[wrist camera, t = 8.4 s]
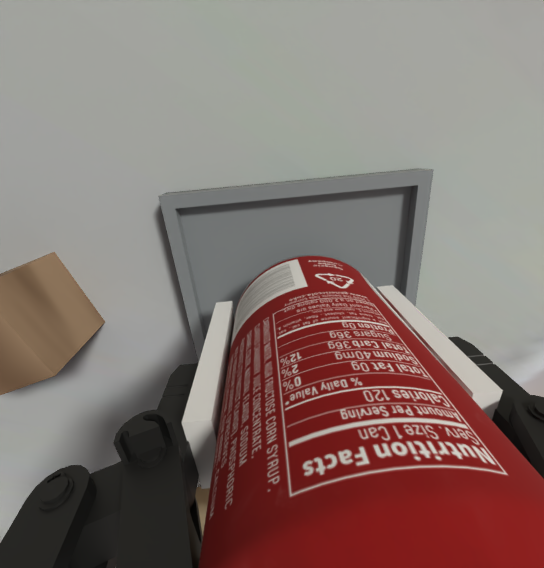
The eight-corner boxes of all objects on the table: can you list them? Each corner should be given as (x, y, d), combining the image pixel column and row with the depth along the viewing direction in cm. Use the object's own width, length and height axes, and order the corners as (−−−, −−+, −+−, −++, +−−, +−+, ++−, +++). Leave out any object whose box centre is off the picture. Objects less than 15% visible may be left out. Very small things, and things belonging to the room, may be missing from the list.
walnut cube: (39, 345, 17) (-31, 405, 13) (-17, 280, 15) (-120, 326, 11) (105, 321, 16) (55, 375, 12) (55, 251, 15) (-24, 288, 11)
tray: (210, 387, 19) (207, 401, 18) (166, 192, 14) (158, 196, 13) (396, 368, 19) (405, 381, 18) (419, 168, 14) (433, 169, 13)
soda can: (208, 293, 13) (-9, 888, 3) (339, 221, 12) (962, 722, 1) (277, 386, 16) (319, 886, 5) (391, 334, 15) (761, 828, 4)
